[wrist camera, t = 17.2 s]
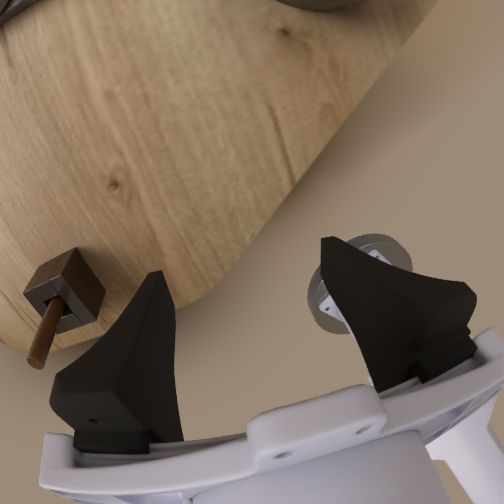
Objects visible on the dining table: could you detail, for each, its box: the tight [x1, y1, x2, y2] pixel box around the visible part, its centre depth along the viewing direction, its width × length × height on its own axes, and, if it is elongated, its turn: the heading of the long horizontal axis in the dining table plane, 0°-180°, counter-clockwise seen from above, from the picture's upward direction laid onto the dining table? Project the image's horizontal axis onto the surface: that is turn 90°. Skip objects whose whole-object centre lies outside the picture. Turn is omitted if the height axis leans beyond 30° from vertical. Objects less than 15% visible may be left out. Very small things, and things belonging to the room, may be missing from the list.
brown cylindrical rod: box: [27, 295, 66, 370], centre depth 19 cm, size 1×1×10 cm
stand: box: [23, 247, 105, 334], centre depth 21 cm, size 5×5×4 cm
